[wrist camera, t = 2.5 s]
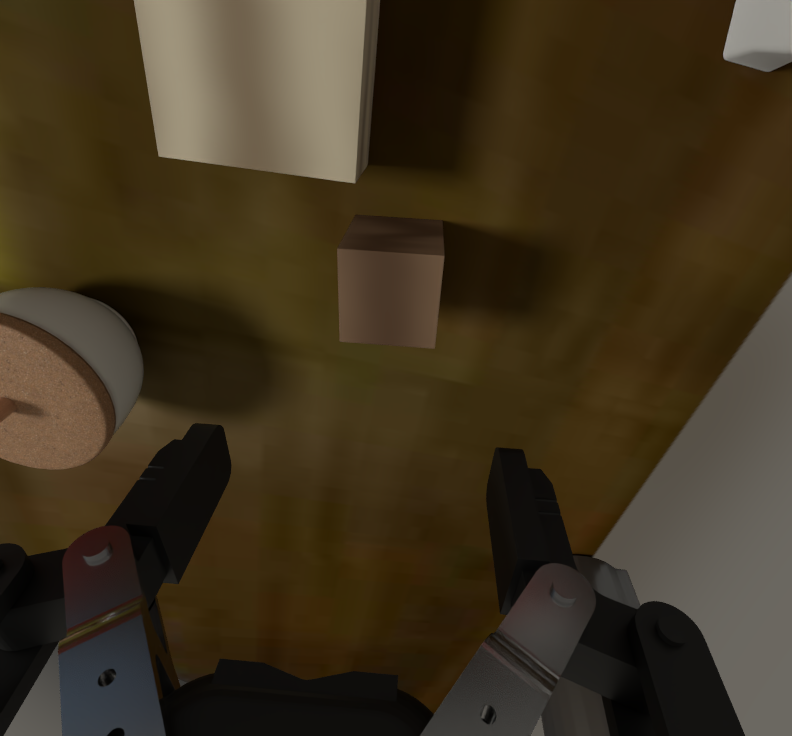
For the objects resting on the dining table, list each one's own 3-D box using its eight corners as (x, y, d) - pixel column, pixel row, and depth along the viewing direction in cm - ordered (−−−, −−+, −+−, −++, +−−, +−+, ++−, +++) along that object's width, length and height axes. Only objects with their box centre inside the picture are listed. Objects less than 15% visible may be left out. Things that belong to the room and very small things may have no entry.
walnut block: (442, 220, 26) (444, 255, 21) (434, 300, 29) (434, 348, 24) (355, 214, 26) (337, 248, 21) (355, 294, 29) (339, 341, 24)
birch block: (385, -57, 20) (372, -90, 16) (368, 164, 25) (354, 183, 21) (180, -85, 20) (113, -126, 16) (204, 141, 25) (158, 156, 21)
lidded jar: (157, 416, 36) (80, 513, 28) (13, 361, 34) (-114, 449, 26) (185, 307, 30) (98, 389, 22) (15, 232, 28) (-146, 295, 20)
